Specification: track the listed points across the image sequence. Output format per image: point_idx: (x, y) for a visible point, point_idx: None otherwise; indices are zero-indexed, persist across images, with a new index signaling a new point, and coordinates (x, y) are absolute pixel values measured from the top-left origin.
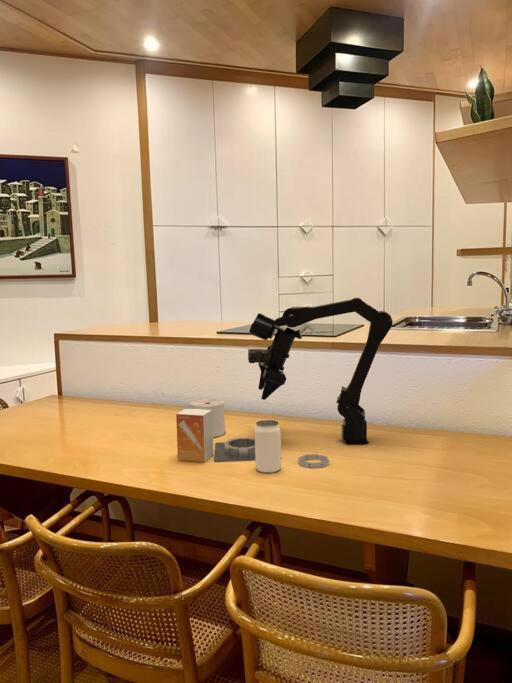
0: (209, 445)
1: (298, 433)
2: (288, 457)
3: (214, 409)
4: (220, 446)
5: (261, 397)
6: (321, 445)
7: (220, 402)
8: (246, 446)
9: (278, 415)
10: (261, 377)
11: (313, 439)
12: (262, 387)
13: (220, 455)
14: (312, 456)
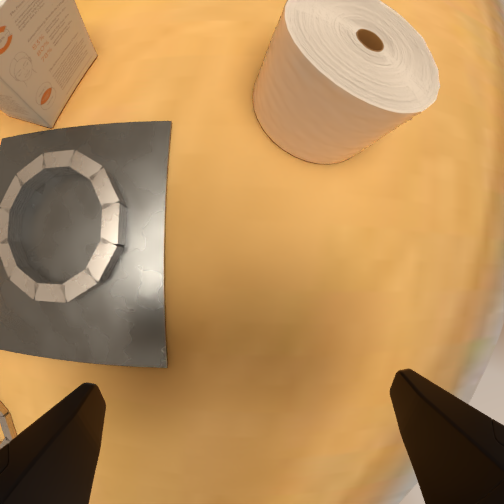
0: (10, 106)
1: (264, 444)
2: (9, 370)
3: (291, 59)
4: (118, 141)
5: (90, 387)
6: (121, 483)
7: (378, 91)
8: (96, 241)
9: (467, 360)
10: (468, 451)
11: (185, 478)
12: (399, 410)
13: (31, 151)
14: (3, 428)
